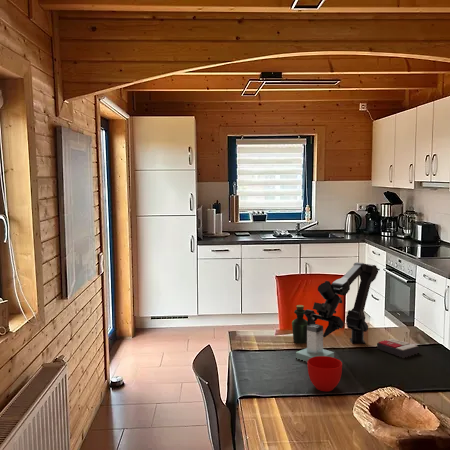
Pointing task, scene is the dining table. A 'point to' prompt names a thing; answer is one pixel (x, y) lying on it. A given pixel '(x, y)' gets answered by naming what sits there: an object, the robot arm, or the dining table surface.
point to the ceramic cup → (324, 372)
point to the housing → (315, 339)
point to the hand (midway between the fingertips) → (315, 334)
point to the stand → (306, 356)
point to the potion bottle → (299, 326)
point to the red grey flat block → (398, 347)
